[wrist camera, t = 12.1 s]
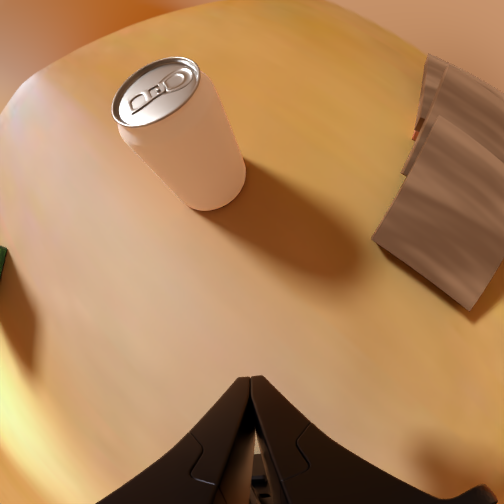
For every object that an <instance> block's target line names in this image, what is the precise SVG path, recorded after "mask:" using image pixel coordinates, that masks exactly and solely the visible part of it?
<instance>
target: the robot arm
mask: <svg viewBox="0 0 504 504" xmlns="http://www.w3.org/2000/svg"><path fill="white" fill-rule="evenodd" d="M255 429H256V435H257V440H258V444H259V448H260V452H261V454H254V446H255ZM497 502H498V500H497V498H496V496H495V495H494V494H493V492H492V491H491V490H490V489H489V488H488V487H487V486H486V485H485V484H481V485H478V486H476V487H473V488H472V489H470V490H468V491H466V492H465V493H463V494H461V495H459V496H457V497H454V498H451V499H439V498H436V497H434V496H432V495H430V494H427V493H425V492H423V491H421V490H419V489H417V488H415V487H413V486H411V485H409V484H407V483H405V482H403V481H401V480H400V479H398V478H396V477H394V476H392V475H390V474H388V473H387V472H385V471H383V470H381V469H379V468H378V467H376V466H374V465H372V464H371V463H369V462H367V461H366V460H364V459H362V458H361V457H359V456H357V455H356V454H354V453H352V452H351V451H349V450H347V449H346V448H344V447H343V446H341V445H340V444H338V443H337V442H335V441H334V440H332V439H331V438H329V437H328V436H327V435H326V434H324V433H323V432H322V431H321V430H320V429H318V428H317V427H316V426H315V425H314V424H313V423H311V422H310V421H309V420H308V419H307V418H306V417H305V416H304V415H303V414H302V413H301V412H300V411H299V410H298V409H297V408H295V407H294V406H293V405H292V404H291V403H290V402H289V401H288V400H287V399H286V398H285V397H284V396H283V395H282V394H281V393H280V392H279V391H278V390H277V389H276V388H275V387H274V386H273V385H272V384H271V383H270V382H269V381H268V380H267V379H266V378H265V377H264V376H262V375H260V376H252V377H251V379H250V377H239V378H237V379H236V380H235V381H234V383H233V384H232V385H231V386H230V387H229V388H228V390H227V391H226V392H225V393H224V394H223V395H222V396H221V397H220V399H219V400H218V401H217V402H216V403H215V404H214V405H213V406H212V408H211V409H210V410H209V411H208V412H207V413H206V414H205V415H204V416H203V417H202V418H201V420H200V421H199V422H198V423H197V424H196V425H195V426H194V427H193V428H192V429H191V430H190V431H189V432H188V433H187V434H186V435H185V436H184V437H183V438H182V439H181V440H180V441H179V442H178V443H177V444H176V445H175V446H174V447H173V448H172V449H171V450H169V451H168V452H167V453H166V454H165V455H163V456H162V457H161V458H160V459H158V460H157V461H156V462H154V463H153V464H152V465H150V466H149V467H148V468H146V469H145V470H144V471H142V472H141V473H140V474H138V475H137V476H135V477H134V478H133V479H131V480H130V481H128V482H127V483H126V484H124V485H123V486H121V487H120V488H118V489H117V490H115V491H114V492H112V493H111V494H109V495H108V496H106V497H105V498H103V499H102V500H100V501H99V502H97V503H96V504H496V503H497Z"/></svg>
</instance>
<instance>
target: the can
mask: <svg viewBox="0 0 504 504" xmlns="http://www.w3.org/2000/svg"><path fill="white" fill-rule="evenodd" d="M111 110H112V116H113V118H114V120H115V121H116V122H117V124H118V129H119V133H120V135H121V137H122V138H123V140H124V141H125V142H126V143H127V145H128V146H129V147H130V148H131V149H132V150H133V151H134V152H135V153H136V154H137V155H138V156H139V158H140V159H141V160H142V161H143V162H144V163H145V164H146V165H147V166H148V167H149V168H150V169H151V170H152V171H153V172H154V173H155V174H156V175H157V176H158V177H159V178H160V180H161V181H162V182H163V183H164V184H165V185H166V186H167V187H168V188H169V189H170V190H171V191H172V192H173V193H174V194H175V195H176V196H177V197H178V198H179V199H180V200H181V201H182V202H183V203H184V204H186V205H187V206H189V207H190V208H193V209H196V210H201V211H209V210H214V209H218V208H220V207H223V206H225V205H226V204H228V203H229V202H231V201H232V200H233V199H234V198H235V197H236V196H237V195H238V194H239V192H240V191H241V189H242V187H243V185H244V182H245V178H246V167H245V163H244V160H243V158H242V155H241V152H240V149H239V147H238V144H237V141H236V139H235V136H234V134H233V131H232V128H231V126H230V123H229V121H228V118H227V116H226V113H225V111H224V108H223V106H222V103H221V101H220V98H219V96H218V93H217V91H216V89H215V86H214V84H213V83H212V81H211V79H210V78H209V77H208V76H207V75H206V74H205V73H203V72H202V71H200V69H199V67H198V65H197V64H196V63H195V62H194V61H192V60H190V59H188V58H184V57H168V58H163V59H160V60H157V61H154V62H152V63H150V64H147V65H146V66H144V67H142V68H140V69H139V70H137V71H136V72H135V73H133V74H132V75H131V76H130V77H129V78H128V79H127V80H126V81H125V82H124V83H123V84H122V85H121V87H120V88H119V89H118V91H117V93H116V95H115V97H114V99H113V102H112V109H111Z"/></svg>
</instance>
